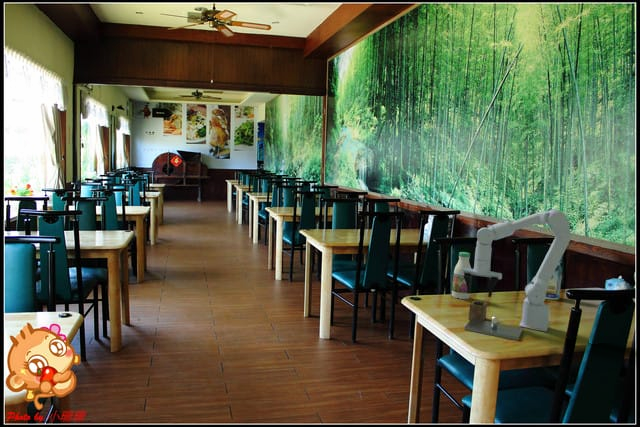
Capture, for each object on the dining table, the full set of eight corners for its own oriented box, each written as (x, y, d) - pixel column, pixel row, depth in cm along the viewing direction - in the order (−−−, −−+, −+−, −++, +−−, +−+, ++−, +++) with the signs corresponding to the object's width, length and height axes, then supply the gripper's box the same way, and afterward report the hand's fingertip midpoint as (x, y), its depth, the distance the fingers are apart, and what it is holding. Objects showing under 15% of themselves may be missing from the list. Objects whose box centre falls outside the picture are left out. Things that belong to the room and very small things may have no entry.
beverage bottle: (563, 300, 240) (568, 256, 238) (547, 300, 238) (552, 256, 236) (551, 295, 248) (556, 253, 246) (535, 295, 246) (540, 252, 244)
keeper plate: (522, 331, 189) (524, 317, 188) (518, 340, 178) (519, 326, 178) (471, 321, 197) (472, 308, 197) (464, 329, 187) (465, 316, 186)
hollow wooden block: (485, 317, 203) (487, 302, 203) (482, 322, 197) (483, 306, 196) (472, 315, 205) (473, 300, 205) (468, 319, 199) (470, 304, 199)
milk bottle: (456, 294, 238) (460, 250, 236) (472, 297, 233) (476, 253, 231) (448, 296, 232) (452, 252, 230) (465, 300, 227) (469, 255, 225)
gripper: (504, 260, 199) (501, 295, 201) (465, 255, 206) (462, 289, 207) (501, 263, 193) (497, 299, 194) (461, 257, 200) (458, 293, 201)
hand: (479, 294), depth 200 cm, fingers open, 7 cm apart
